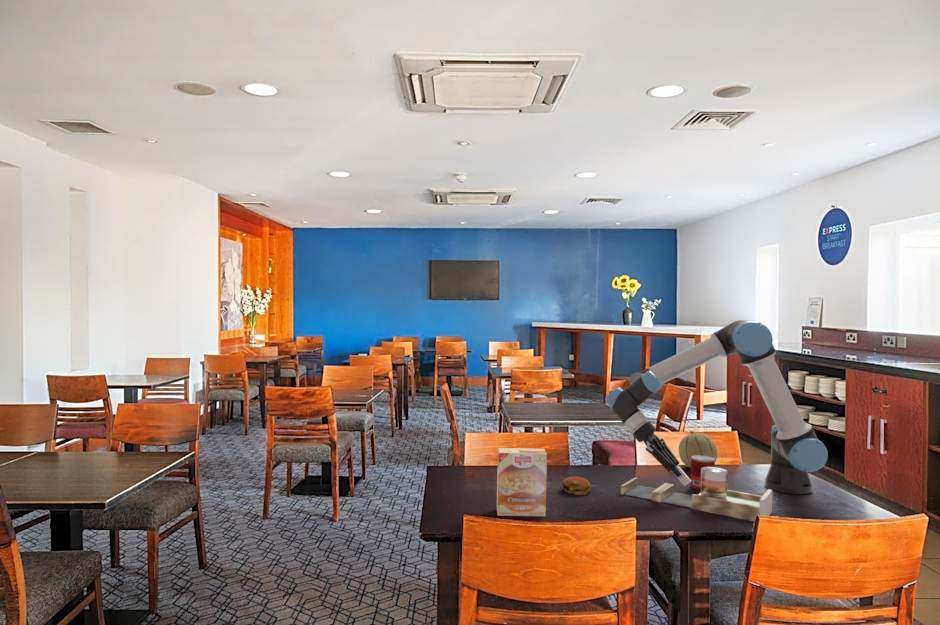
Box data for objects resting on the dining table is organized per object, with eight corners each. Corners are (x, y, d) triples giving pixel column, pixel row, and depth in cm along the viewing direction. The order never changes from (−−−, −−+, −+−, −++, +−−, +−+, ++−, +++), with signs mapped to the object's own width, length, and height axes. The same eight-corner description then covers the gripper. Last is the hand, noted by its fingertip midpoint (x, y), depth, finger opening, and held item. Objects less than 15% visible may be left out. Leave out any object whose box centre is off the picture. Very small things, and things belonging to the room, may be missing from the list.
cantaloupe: (716, 476, 238) (716, 437, 238) (676, 471, 244) (676, 433, 244) (718, 467, 252) (719, 430, 251) (680, 463, 258) (681, 427, 258)
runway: (620, 494, 213) (620, 481, 213) (634, 485, 224) (635, 473, 224) (759, 522, 187) (759, 507, 187) (767, 510, 198) (768, 496, 198)
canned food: (716, 492, 217) (716, 461, 217) (692, 490, 219) (692, 459, 219) (712, 486, 225) (712, 455, 225) (689, 484, 226) (689, 454, 226)
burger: (586, 487, 221) (586, 474, 221) (593, 495, 211) (594, 482, 211) (559, 487, 220) (559, 474, 220) (565, 496, 211) (565, 482, 211)
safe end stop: (721, 514, 193) (721, 492, 193) (731, 504, 204) (731, 482, 204) (763, 523, 186) (764, 500, 186) (771, 511, 197) (772, 489, 197)
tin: (725, 495, 204) (726, 467, 204) (728, 502, 196) (729, 474, 196) (699, 492, 206) (699, 465, 206) (701, 499, 198) (702, 472, 198)
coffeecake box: (497, 516, 189) (498, 452, 188) (496, 508, 196) (497, 447, 195) (546, 517, 189) (547, 453, 188) (543, 509, 196) (544, 447, 196)
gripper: (639, 431, 222) (685, 485, 213) (625, 436, 212) (673, 494, 202) (654, 418, 219) (701, 473, 210) (641, 423, 209) (690, 481, 199)
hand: (688, 483), depth 206 cm, fingers closed
